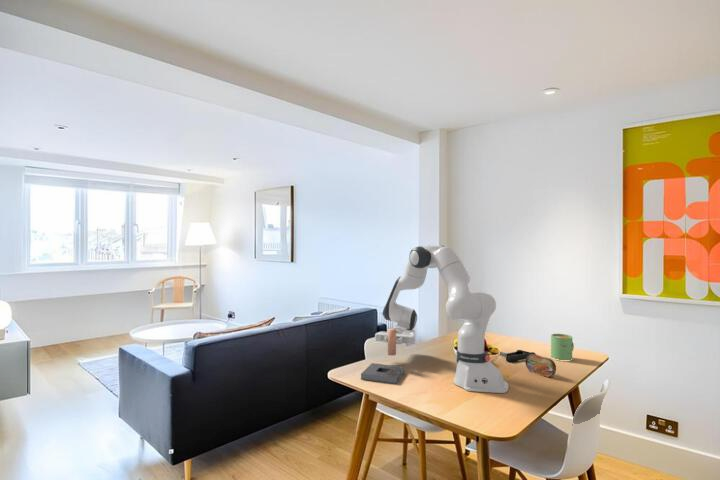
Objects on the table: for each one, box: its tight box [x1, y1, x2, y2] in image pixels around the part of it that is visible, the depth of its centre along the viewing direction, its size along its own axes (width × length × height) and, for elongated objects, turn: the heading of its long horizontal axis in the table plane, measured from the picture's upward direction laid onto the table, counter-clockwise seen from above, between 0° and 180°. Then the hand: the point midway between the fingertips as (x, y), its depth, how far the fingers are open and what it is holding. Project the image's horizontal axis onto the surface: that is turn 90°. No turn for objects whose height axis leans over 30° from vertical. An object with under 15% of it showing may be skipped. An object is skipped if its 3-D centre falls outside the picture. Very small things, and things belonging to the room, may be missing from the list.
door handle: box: [499, 349, 536, 363], centre depth 211 cm, size 3×20×16 cm
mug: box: [550, 333, 575, 360], centre depth 209 cm, size 13×10×12 cm
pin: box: [387, 328, 397, 356], centre depth 193 cm, size 4×4×12 cm
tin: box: [524, 353, 557, 378], centre depth 185 cm, size 15×3×8 cm, turn 27°
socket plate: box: [360, 362, 406, 385], centre depth 180 cm, size 16×16×2 cm
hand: (391, 341), depth 192 cm, fingers closed on pin, 4 cm apart
